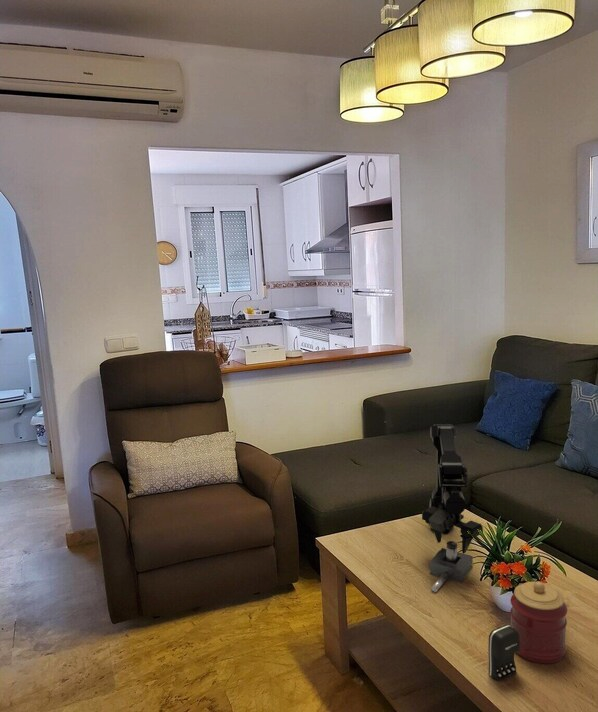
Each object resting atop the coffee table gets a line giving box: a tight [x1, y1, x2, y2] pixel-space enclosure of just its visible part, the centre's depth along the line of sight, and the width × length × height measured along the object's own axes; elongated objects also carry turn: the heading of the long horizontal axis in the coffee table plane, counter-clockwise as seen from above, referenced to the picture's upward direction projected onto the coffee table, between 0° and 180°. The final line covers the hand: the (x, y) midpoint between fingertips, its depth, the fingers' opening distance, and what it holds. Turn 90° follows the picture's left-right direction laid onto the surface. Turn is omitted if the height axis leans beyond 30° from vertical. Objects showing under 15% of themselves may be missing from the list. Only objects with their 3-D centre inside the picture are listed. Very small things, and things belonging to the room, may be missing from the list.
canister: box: [510, 580, 568, 664], centre depth 144 cm, size 13×13×18 cm
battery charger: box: [488, 624, 520, 681], centre depth 136 cm, size 7×4×11 cm, turn 116°
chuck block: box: [429, 547, 474, 594], centre depth 178 cm, size 19×10×4 cm, turn 145°
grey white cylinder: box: [445, 540, 458, 564], centre depth 181 cm, size 3×3×8 cm
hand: (451, 547), depth 180 cm, fingers open, 9 cm apart
